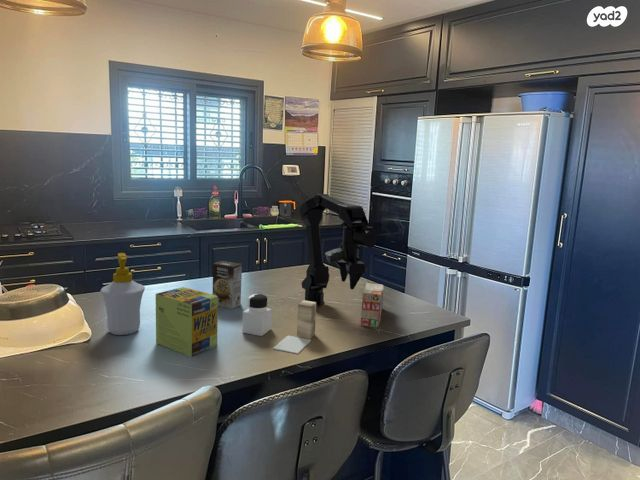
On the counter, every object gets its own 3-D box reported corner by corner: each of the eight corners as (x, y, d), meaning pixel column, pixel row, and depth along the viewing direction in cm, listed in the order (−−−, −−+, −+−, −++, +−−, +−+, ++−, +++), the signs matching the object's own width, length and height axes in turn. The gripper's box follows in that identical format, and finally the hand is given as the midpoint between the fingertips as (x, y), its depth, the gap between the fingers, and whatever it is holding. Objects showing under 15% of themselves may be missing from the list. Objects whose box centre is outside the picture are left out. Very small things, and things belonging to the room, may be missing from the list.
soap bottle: (103, 341, 140) (100, 260, 135) (100, 326, 151) (98, 251, 146) (148, 335, 146) (146, 257, 141) (142, 321, 157) (141, 249, 152)
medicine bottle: (271, 329, 156) (272, 294, 154) (262, 336, 149) (263, 300, 147) (252, 325, 158) (253, 291, 156) (242, 332, 152) (242, 297, 149)
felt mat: (287, 336, 151) (287, 335, 151) (311, 340, 148) (311, 339, 148) (272, 348, 140) (273, 348, 140) (297, 354, 138) (297, 353, 138)
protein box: (191, 357, 132) (191, 304, 130) (155, 343, 140) (154, 293, 137) (218, 345, 141) (218, 295, 138) (182, 333, 149) (182, 285, 146)
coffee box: (211, 305, 177) (211, 263, 174) (221, 300, 182) (221, 260, 180) (232, 309, 173) (233, 266, 170) (241, 304, 179) (242, 263, 176)
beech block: (302, 332, 154) (303, 300, 152) (314, 334, 153) (316, 302, 151) (296, 337, 150) (298, 304, 148) (309, 339, 149) (311, 306, 147)
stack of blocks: (366, 307, 184) (368, 276, 181) (382, 309, 182) (385, 278, 180) (360, 326, 163) (362, 291, 161) (378, 328, 162) (381, 293, 160)
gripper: (321, 236, 170) (318, 278, 173) (336, 247, 152) (333, 294, 155) (350, 236, 173) (347, 277, 176) (368, 247, 155) (365, 293, 158)
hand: (347, 285), depth 166 cm, fingers open, 9 cm apart
